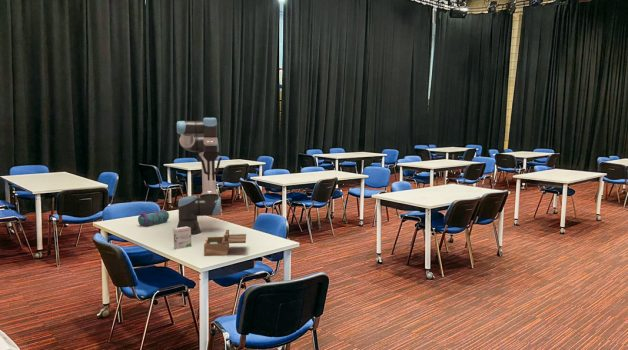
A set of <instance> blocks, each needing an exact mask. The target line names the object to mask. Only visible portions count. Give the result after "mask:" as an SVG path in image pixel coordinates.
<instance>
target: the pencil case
mask: <svg viewBox="0 0 628 350" xmlns="http://www.w3.org/2000/svg"><path fill="white" fill-rule="evenodd" d="M169 218H170V213H169V212H168V210H166V209H164V208H162V209H161V210H159V211H154V212H153V213H146V212H143V213H140V215H138V218H137V222H138V224H139V226H140V227H142V226H145V227H149V225H150V226H153V224H154V225H159V224H163V223H166V222H168V220H169ZM158 223H159V224H158Z"/></svg>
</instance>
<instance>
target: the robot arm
mask: <svg viewBox="0 0 628 350" xmlns="http://www.w3.org/2000/svg"><path fill="white" fill-rule="evenodd" d="M176 133H177V134H178V135H180V137H179V144H180V146H181V147H182V148H183V149H184V150H185V151H188V152H191V153H198V155H199V158H198V159H199V160H200V163H201V179H202V180H201V181H202V182H201V183H202V192H201V194H200V197H198V196H197V195H188V196H183V197H180V198H179V199H178V201H177V202H178V204H177V208H178V223H177V226H176V228H180V227H190V228H191V236H192V235H193V236H194V235H197V234H200V233H201V230H202V229H201V226H200V224H199V221H198V217H204V216H205V217H206V216H207V217H208V216H211V217H213V216H218V215H220V211H221V204H222V198H221V197H220V195H219V193H218V192H217V183H216V182H217V181H216V180H217V179H216V175H218V173H219V168H220V164H221V160H222V159H223V157H222V156H220V155H219V154H218V153H219V152H220V146H219V145H220V144H219V139H218V121H217V118H216V117H204V118H203V120H179V121H177V122H176ZM216 159H217V164H216Z"/></svg>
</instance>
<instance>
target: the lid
mask: <svg viewBox="0 0 628 350" xmlns="http://www.w3.org/2000/svg"><path fill="white" fill-rule="evenodd" d="M222 237H223V240H222V244H226V243H229V244H246V243H247V242H246V241H247V234H246V233H240V234H239V233H238V234H237V233H235V234H233V233H232V234H230V229H226V230H225V233H224V234H223V236H222Z"/></svg>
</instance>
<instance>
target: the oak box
mask: <svg viewBox="0 0 628 350" xmlns="http://www.w3.org/2000/svg"><path fill="white" fill-rule="evenodd" d="M222 240H223V236H207V237H206V239H205V241H204V243H203V255H204V257H214V256H215V257H219V256H222V257H223V256H228V255H229V254H228V253H229V250H230V243H226V244H222ZM210 242H217V243H218V244H210Z"/></svg>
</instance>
